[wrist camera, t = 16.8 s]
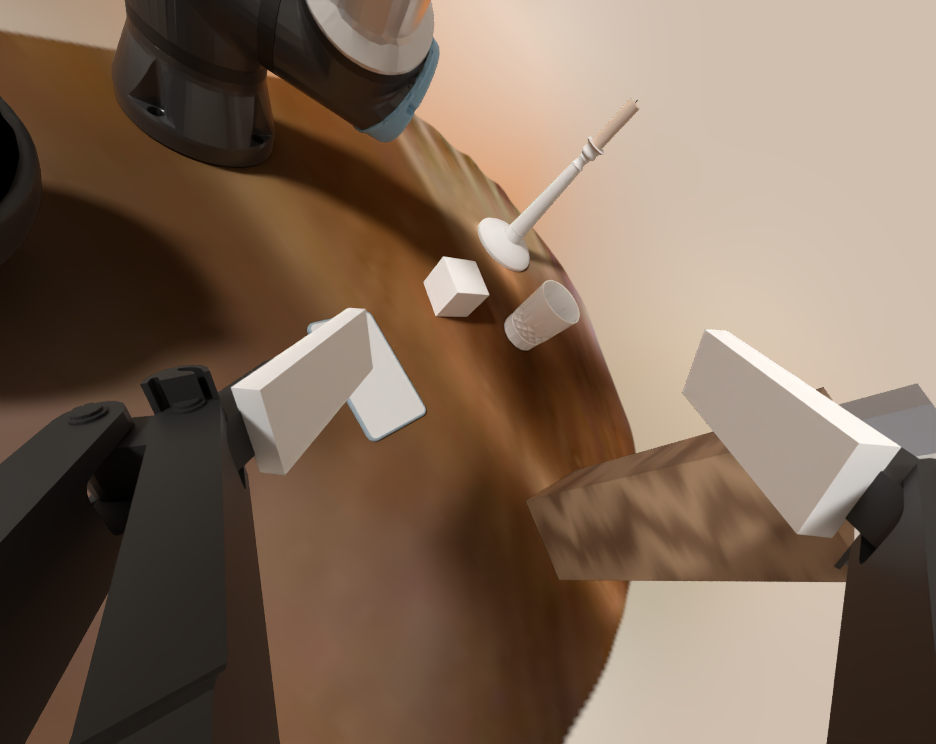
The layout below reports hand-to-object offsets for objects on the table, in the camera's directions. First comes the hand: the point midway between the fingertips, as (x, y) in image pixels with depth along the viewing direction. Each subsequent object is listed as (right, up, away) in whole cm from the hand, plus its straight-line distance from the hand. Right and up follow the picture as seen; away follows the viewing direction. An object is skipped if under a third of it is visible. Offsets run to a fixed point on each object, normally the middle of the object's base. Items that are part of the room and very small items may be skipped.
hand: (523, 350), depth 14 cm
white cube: (-6, +10, +39) cm, 41 cm away
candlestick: (+5, +25, +56) cm, 62 cm away
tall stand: (+12, -21, +34) cm, 42 cm away
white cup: (+6, +6, +46) cm, 47 cm away
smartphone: (-14, -1, +27) cm, 30 cm away
